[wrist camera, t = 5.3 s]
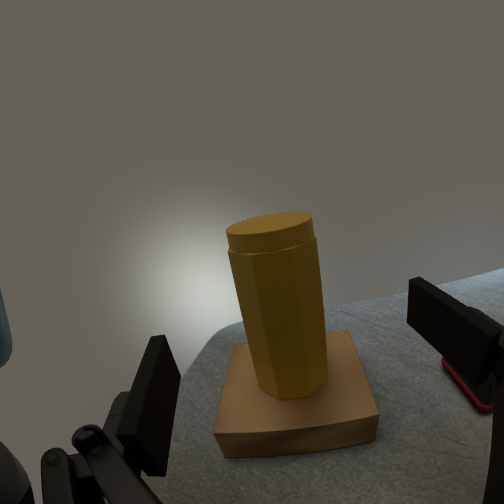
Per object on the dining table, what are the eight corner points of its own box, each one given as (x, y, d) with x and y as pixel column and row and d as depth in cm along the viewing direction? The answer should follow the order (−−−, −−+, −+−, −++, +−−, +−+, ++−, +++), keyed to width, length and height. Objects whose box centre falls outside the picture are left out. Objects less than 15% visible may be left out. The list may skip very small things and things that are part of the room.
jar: (257, 402, 17) (218, 239, 14) (261, 359, 22) (232, 220, 19) (331, 393, 17) (317, 223, 14) (322, 351, 21) (306, 208, 18)
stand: (224, 457, 16) (187, 374, 14) (240, 370, 25) (220, 293, 23) (374, 440, 15) (387, 349, 12) (348, 355, 24) (345, 274, 22)
